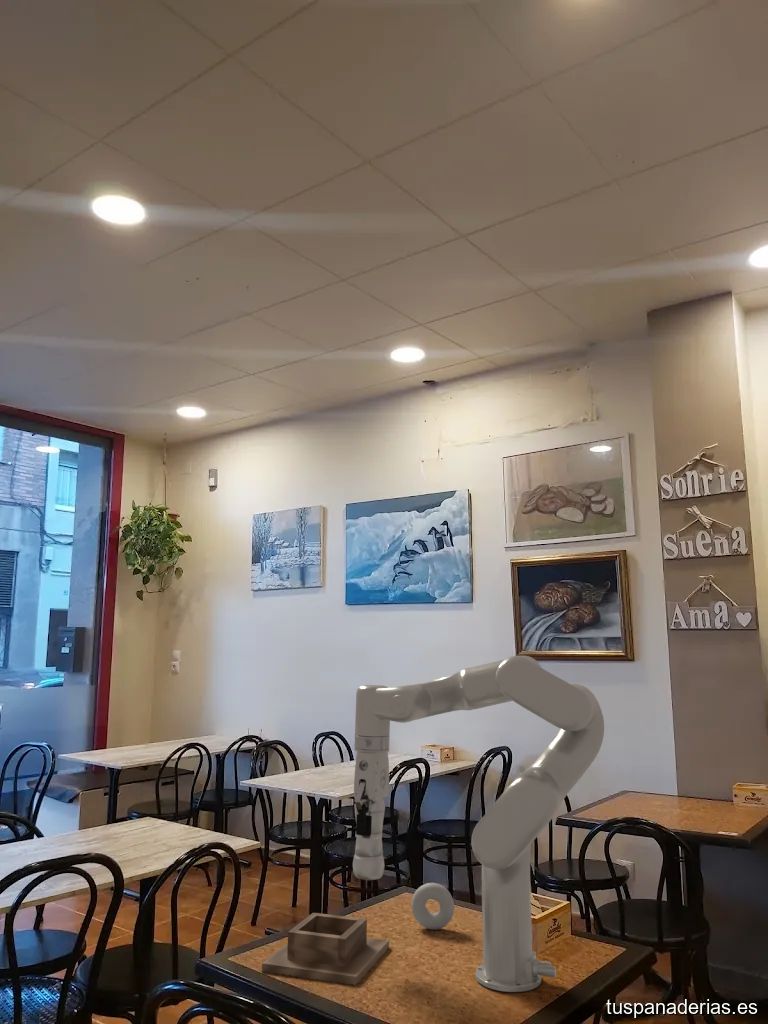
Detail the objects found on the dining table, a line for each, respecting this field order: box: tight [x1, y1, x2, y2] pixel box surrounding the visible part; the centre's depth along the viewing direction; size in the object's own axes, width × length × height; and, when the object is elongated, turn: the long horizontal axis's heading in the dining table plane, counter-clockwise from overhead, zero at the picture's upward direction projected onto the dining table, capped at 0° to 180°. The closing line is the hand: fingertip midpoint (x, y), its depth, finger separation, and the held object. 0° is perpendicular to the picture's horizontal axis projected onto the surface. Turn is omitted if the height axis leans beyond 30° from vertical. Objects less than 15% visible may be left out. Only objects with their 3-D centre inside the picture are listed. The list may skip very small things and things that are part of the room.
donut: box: [410, 882, 455, 931], centre depth 177 cm, size 10×4×10 cm, turn 80°
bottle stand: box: [261, 912, 390, 986], centre depth 160 cm, size 20×20×6 cm
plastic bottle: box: [352, 797, 386, 881], centre depth 163 cm, size 6×7×20 cm
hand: (369, 830), depth 163 cm, fingers closed on plastic bottle, 6 cm apart
